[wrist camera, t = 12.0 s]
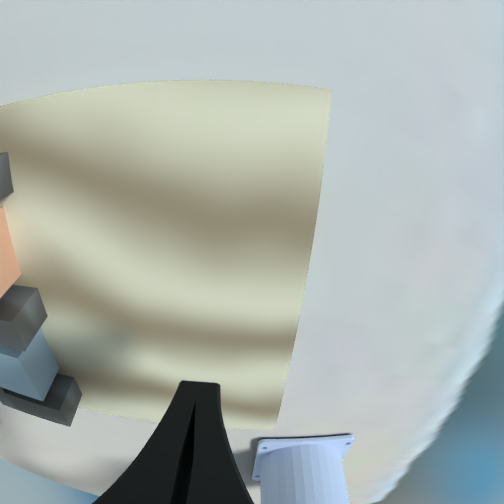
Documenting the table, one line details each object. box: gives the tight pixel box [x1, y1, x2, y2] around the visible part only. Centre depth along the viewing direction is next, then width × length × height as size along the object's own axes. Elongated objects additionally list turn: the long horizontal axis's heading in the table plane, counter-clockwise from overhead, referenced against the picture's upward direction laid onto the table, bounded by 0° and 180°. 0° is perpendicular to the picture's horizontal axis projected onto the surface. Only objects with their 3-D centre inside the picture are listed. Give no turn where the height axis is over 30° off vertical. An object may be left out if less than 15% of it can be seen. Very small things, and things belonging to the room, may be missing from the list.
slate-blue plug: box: [0, 327, 59, 401], centre depth 15 cm, size 4×4×3 cm
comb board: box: [0, 80, 332, 430], centre depth 14 cm, size 22×22×4 cm
